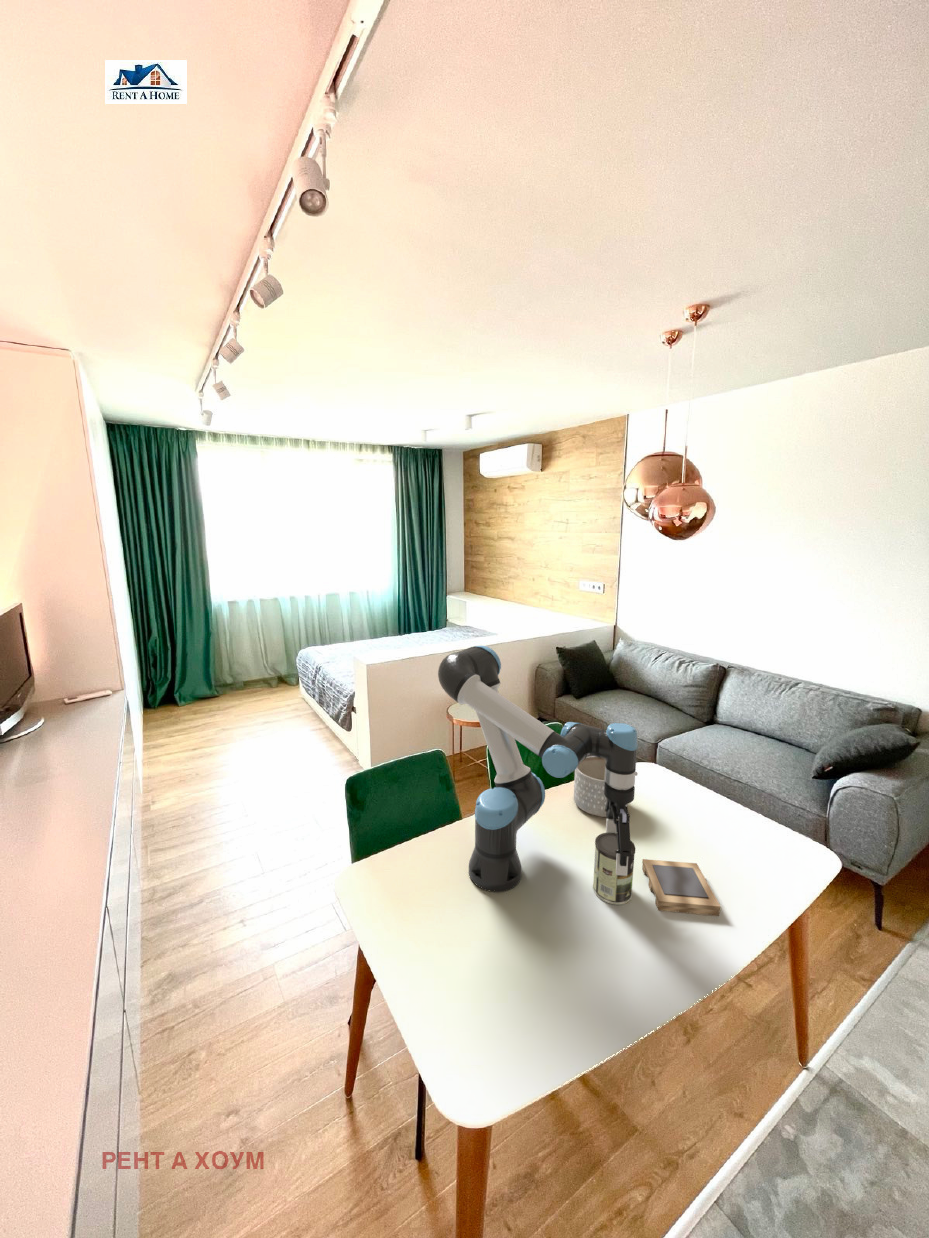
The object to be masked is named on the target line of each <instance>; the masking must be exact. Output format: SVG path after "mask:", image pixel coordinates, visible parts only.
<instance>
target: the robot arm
mask: <svg viewBox="0 0 929 1238" xmlns="http://www.w3.org/2000/svg"><path fill="white" fill-rule="evenodd" d="M501 670H502V663H501V659H500V657H499V655H498V654H497V652H496V651H495V650H493V649H492V648H490V647H489V646H487V645H475V646H470V647H468V648H465V649H461V650H459V651H456V652H452V653H450V654H449V653H448V655H446V656H445V657H444V658H443V659H442V660H441V662H440V663H439V666H438V670H437V677H438V681H439V684H440V686H441V688H442V690H443V691H444V692H445V693H446V694H447V696H449V697H450V698H451V699H452V700H453V701H455V702H456V703H458V704H459V705H467V706H468V707H470V709H473V710H474V711H475V713H476V716H477V719H478V722H479V725H480V727H481V730H482V733H483V736H484V740H485V742H486V745H487V748H488V750H489V754H490V757H491V760H492V763H493V766H494V769H495V771H496V775H495V778H494V780H493V781H494V785H495V786H494V787H493V788H491V787H490V788H488V789H486V790H483V791H482V792H481V793H480V794H479V795H478V797H477V799H476V801H475V809H474V818H475V823H474V824H475V826H474V828H475V829H474V833H475V834H474V842H475V843H474V849H473V850H472V853H471V857H470V858H469V862H468V876H470V877H469V879H470V878H471V879H472V880H473V882H474V883H476V884H477V885H478V886H480V887H482V888H483V889H482V888H481V889H482V890H484V889H486V890H485V891H487V890H490V891H489V892H495V893H496V892H506V891H509V890H512V889H513V888H515V887H516V886H517V885H519V883H520V881H521V879H522V871H523V870H522V863H521V860H520V857H519V853H518V851H517V834H518V831H519V830H520V829H521V828H522V827H523V826H524V825H525V824H526V823H527V822H528V821H529V820H530V819H532V818H533V816H534V815H535V814H536V815H537V813H538V812H539V811H540V809H541V808H542V806H543V804H544V802H545V799H546V789H545V785H544V784H543V781H542V780H541V779H540V777H538V776H537V774H535V773H534V772H532V770H531V767H529V766H527V765H525V764H524V762H523V760H522V756H521V754H520V753H521V752H520V750H519V748H518V744H517V742H518V743H520V744H521V745H522V746H524V747H525V748H526V749H528V750H530V751H531V752H532V753H534V754H535V755H536V756H538V757H539V758H541V764H542V767H543V768H544V770H545V771H546V773H547V774H549V775H550V776H552V777H554V778H560V779H562V778H565V777H567V776H568V775H570V774H571V773H573V772H575V769H576V768H577V766H578V765H579V764H580V763H581V762H582V761H583V760H585V759H586V758H587V757H589V756H594V757H598V758H603V759H605V761H606V763H605V784H604V795H605V797H606V798H607V803H606V807H605V811H606V812H607V814H606V816H607V817H606V820H605V821H606V822H605V823H606V825H605V827H606V828H605V833H617V843H618V850H617V851H615V853H617V856H616V875H622V876H627V870H628V857H631V844H630V840H631V831H630V830H631V827H630V822H631V821H630V817H631V815H630V813H629V808H628V806H627V807H626V805H627V804H630V803H632V802H634V800H635V787H636V786H635V785H636V776H638V772H637V771H636V770H637V768H636V767H637V766H636V765H637V755H638V732H637V731H638V730H637V729H636V728H635V727H634V726H632V725H631V724H627V723H621V722H620V723H618V722H613V723H610V724H609V725H608V726H607V728H606V729H605V728H599V727H595V726H593V725H592V726H591V725H588V724H584V723H581V722H573V721H567V722H566V723H564V725H563V727H562V728H561V731H560V733H557V732H556V731H554V730H553V729H552V728H550V727H549V726H548V725H546V724H544V723H543V722H541V721H540V720H538V719H537V718H536V717H534V716H532V715H531V714H530V713H528V712H527V711H525V710H524V709H523V708H521V707H520V706H518V705H516V704H515V703H513V702H512V701H511V700H509V699H508V698H506V697H505V696H503V695H502V694H500V693H499V688H500V685H501V680H500V678H499V675H500V672H501ZM471 879H470V880H471ZM472 880H471V881H472ZM473 882H472V883H473ZM474 883H473V884H474ZM477 885H476V886H477ZM478 886H477V887H478ZM480 887H479V888H480Z"/></svg>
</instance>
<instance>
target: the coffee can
mask: <svg viewBox="0 0 929 1238" xmlns="http://www.w3.org/2000/svg"><path fill="white" fill-rule="evenodd" d="M594 843H595V844H594V845H595V847H594V862H593V863H594V864H593V865H594V867H593V881H592V890H593V892H594V895H596V896H597V897H598V899H600V900H601V901H602V902H605V903H607V904H610V905H616V906H620V905H625V904H627V903H629V902H630V901H631V900H632V895H633V878H634V866H635V865H634V864H635V853H636V846H635V843H634V842H633V841H632V840H631V839H630V844H631V857H628V870H627V876H622V875H616V856H617V853H615V851H617V850H618V843H617V832H616V833H606V832H602V833H599V834H598V835H597V836H596V837H595V840H594Z"/></svg>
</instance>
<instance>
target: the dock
mask: <svg viewBox="0 0 929 1238" xmlns="http://www.w3.org/2000/svg"><path fill="white" fill-rule="evenodd" d="M641 864H642V866H641V869H642V872H643V876H647V878H648V888H649V891H650V892H651V893H654V894H653V895H654V897H655V902H654V904H655V906H656V909H657V911H661V912H670V913H671V912H673V913H684V914H694V915H704V916H705V915H706V916H715V917H719V916H720V911H721V908H722V906H721V904H720V903H719V901H718V899H717V898H716V895H715V893H714V892H713V890H712V889H711V887H710V885H709V883H708V881H707V879H706V877H705V876H704V873H703V872H702V869H701V868H700V867H699V865H698V863H696V862H695V863H694V862H683V861H671V860H658V859H647V858H643V859H642V862H641Z"/></svg>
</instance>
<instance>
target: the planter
mask: <svg viewBox="0 0 929 1238" xmlns="http://www.w3.org/2000/svg"><path fill="white" fill-rule="evenodd" d="M605 763H606V761H605V759H603V758H598V757H594V756H591V755H589V756H588V757H587V758H586V759H585V760H583V761H582V762H581V763H580V764H579V765H578V766H577V768H576V769H575V770H574V781H573V783H574V784H573V801H574V803H575V805H576V806H577V807H578V808H580V810H583V812H586V813H587V814H590V815H591V816H595V817H599V818H600V817H601V818H607V816H606V814H607V812H606V811H605V807H606V803H607V798H606V797H605V795H604V784H605ZM628 804H629V803H628ZM628 804H627V805H626V807H627V808H628V806H629V805H628Z"/></svg>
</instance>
